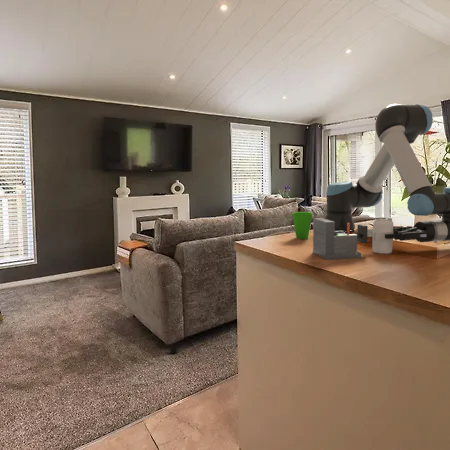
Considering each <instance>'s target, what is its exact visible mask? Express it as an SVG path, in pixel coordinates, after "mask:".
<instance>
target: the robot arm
mask: <svg viewBox="0 0 450 450" xmlns="http://www.w3.org/2000/svg"><path fill="white" fill-rule="evenodd" d="M433 119H434V118H433V112H432V110H431V109H430V108H429V107H428V106H427V105H422V104H405V103H404V104H403V103H402V104H401V103H393V104H389V105H387V106H385V107H384V108H383V109H382V110H381V111H380V112H379V113H378V114H377V116H376V119H375V133H376V136H377V138H378V140H379V142H381V143H383V145H382V146H381V148H380V150H379V151H378V153H377V155H376V156H375V158H374V159H373V161H372V162H371V165H370V166H369V168H368V169H367V171H366V173H365V175H363V176H360V177H359V178H358V180H357V182H355V183H353V182H352V181H350V180H349V181H348V180H347V181H339V182H338V181H337V182H333V183H329V184H328V185H327V187H326V193H325V194H326V214H325V218H324V219H327V220H330V221H334V222H335V231H344V233H346V232H345V231H347V223H350V230H354V229H355V230H356V226H355V221H354V217H353V215H352V210H353V209H356V208H357V209H358V208H371V207H375V206H376V205H378V204H379V203H380V202H381V201H382V198H383V195H382V194H383V186H382V184H383V182H384V181H385V180H386V178H387V177H388V176H389V174H390V172H391V171H392V169H393V167H394V166H395V168H396V170H397V172H398V175H399V177H400V178H401V180H402V182H403V185H404V187H405V188H406V191H407V193H408V196H409V198H408V199H407V202H406V204H407V210H408V212H409V213H410V214H411V215H414V216H422V217H423V216H424V217H426V216H433V215H441V220H440V219H438V220H424V221H423V220H422V221H421V220H420V221H416V222H415V223H414V224H413V226H412V225H407V226H403V225H399V226H393V232H392V231H391V232H375V234H374V240H375V241H377V240H393V241H394V240H395V241H398V240H399V241H401V242H403V241H413V240H415V241H417V242H419V243H430V242H433V243H435V244H437V243H438V242H445V241H446V242H447V241H448V242H449V241H450V186H446V187H443V190H442V192H435V190H434V188H433V187H432V185H431V183H430V181H429V179H428V177H427V175H426V173H425V171H424V169H423V167H422V165H421V163H420V162H419V160H418V157H417V156H416V153H415V151H414V150H413V148H412V146H411V144H414V143H415V141H416V140H417V139H418V137H419V136H423V135H425V134H427V133H429V131H430V130H431V128H432V126H433V122H434V121H433ZM369 237H371V238H373V228H368V230H367V238H369Z"/></svg>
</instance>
